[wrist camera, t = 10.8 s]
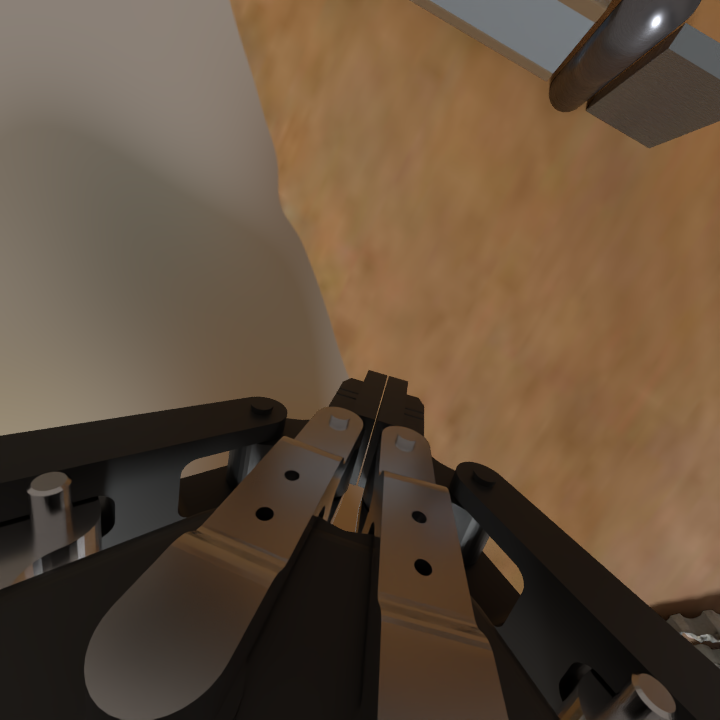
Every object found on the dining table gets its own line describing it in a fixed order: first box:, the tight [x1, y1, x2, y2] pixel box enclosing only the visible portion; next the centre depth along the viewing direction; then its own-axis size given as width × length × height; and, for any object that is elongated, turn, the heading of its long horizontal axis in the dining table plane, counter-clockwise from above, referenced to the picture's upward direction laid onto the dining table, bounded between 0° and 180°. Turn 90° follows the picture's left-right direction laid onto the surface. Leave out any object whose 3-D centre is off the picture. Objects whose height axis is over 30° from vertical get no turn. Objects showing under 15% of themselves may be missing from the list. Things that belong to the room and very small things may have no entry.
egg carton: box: [666, 610, 720, 668], centre depth 42 cm, size 11×8×4 cm
